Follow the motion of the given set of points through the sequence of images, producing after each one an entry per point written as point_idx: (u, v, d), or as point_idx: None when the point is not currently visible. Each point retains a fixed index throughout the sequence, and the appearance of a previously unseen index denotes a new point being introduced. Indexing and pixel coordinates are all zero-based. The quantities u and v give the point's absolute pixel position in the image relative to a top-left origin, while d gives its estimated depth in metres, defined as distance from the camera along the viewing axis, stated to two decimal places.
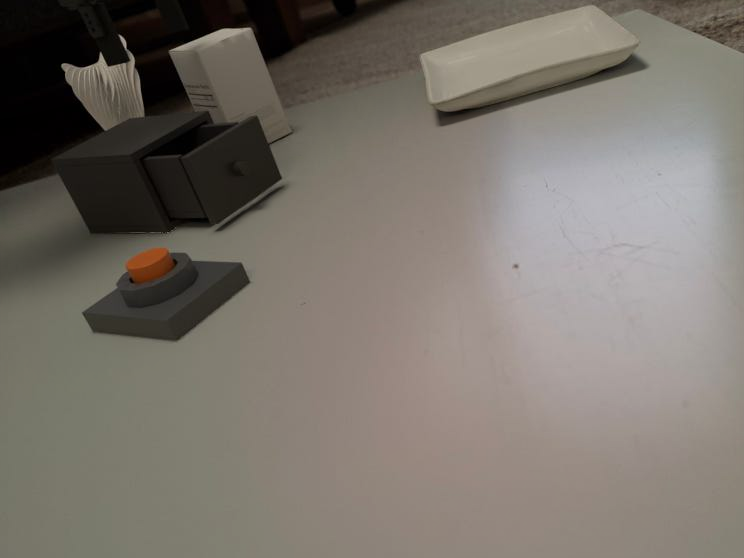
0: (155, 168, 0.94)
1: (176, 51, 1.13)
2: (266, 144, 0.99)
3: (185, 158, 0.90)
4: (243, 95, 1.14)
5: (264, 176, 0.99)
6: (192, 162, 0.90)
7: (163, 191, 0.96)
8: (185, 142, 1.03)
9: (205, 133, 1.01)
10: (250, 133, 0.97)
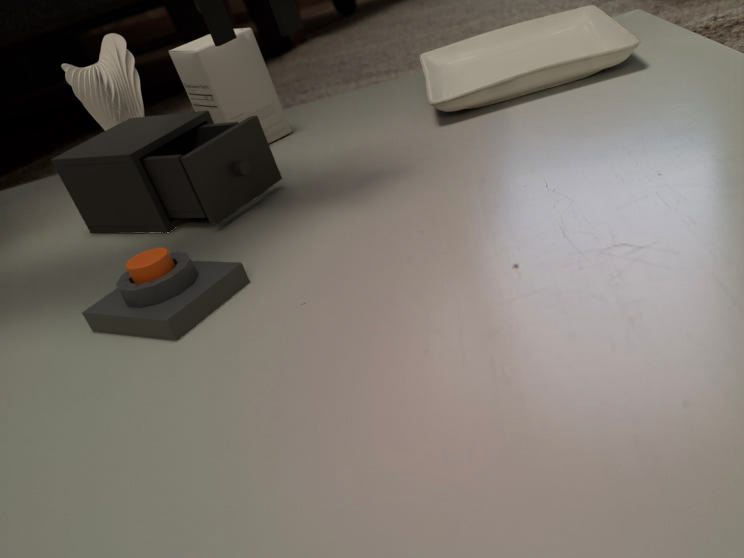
0: (155, 168, 0.94)
1: (176, 51, 1.13)
2: (266, 144, 0.99)
3: (185, 158, 0.90)
4: (243, 95, 1.14)
5: (264, 176, 0.99)
6: (192, 162, 0.90)
7: (163, 191, 0.96)
8: (185, 142, 1.03)
9: (205, 133, 1.01)
10: (250, 133, 0.97)
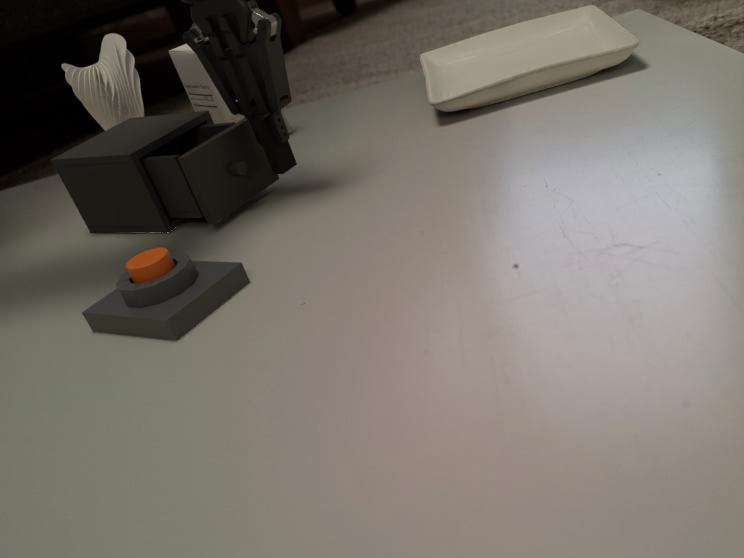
0: (152, 168, 0.94)
1: (176, 51, 1.13)
2: None
3: (182, 158, 0.90)
4: None
5: (261, 176, 0.99)
6: (189, 162, 0.90)
7: (160, 191, 0.96)
8: (182, 142, 1.04)
9: (202, 133, 1.01)
10: (247, 133, 0.97)
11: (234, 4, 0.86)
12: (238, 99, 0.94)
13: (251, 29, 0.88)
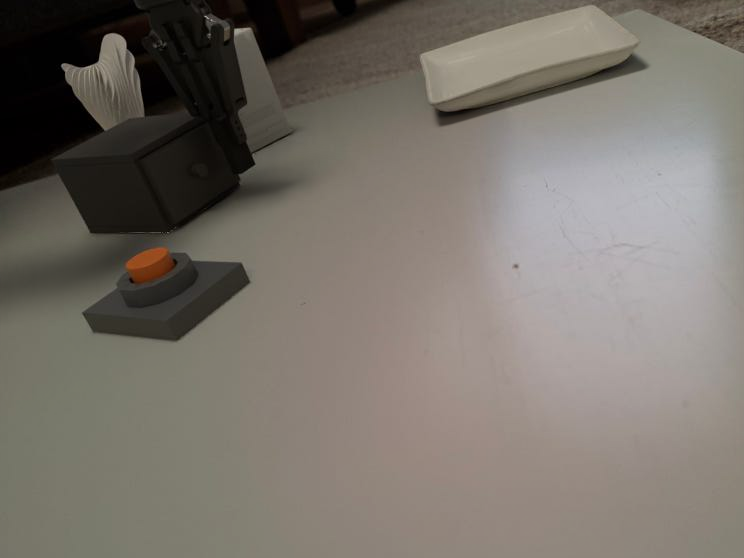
0: None
1: None
2: None
3: (142, 160, 0.93)
4: None
5: (222, 178, 1.02)
6: (149, 164, 0.94)
7: None
8: None
9: None
10: (208, 136, 1.00)
11: (188, 10, 0.89)
12: (196, 102, 0.97)
13: (206, 34, 0.92)
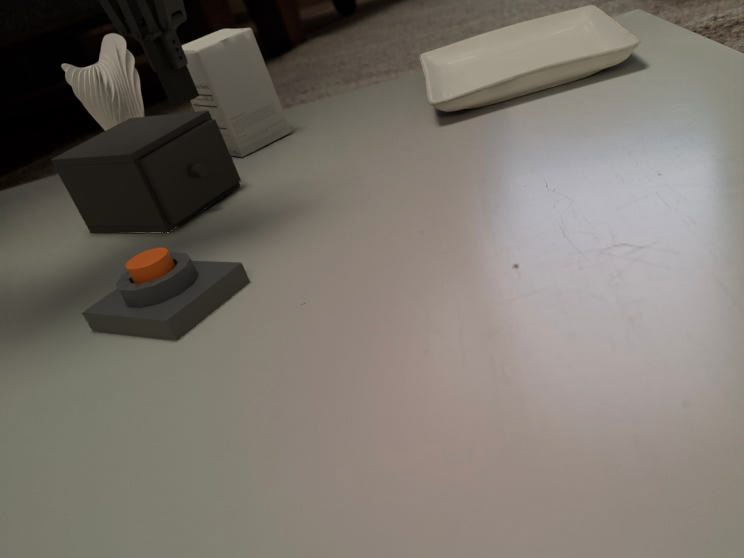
0: None
1: None
2: (225, 146, 1.02)
3: (142, 160, 0.93)
4: (242, 95, 1.14)
5: (222, 178, 1.02)
6: (149, 164, 0.94)
7: None
8: None
9: None
10: (208, 136, 1.00)
11: None
12: (126, 17, 0.82)
13: None
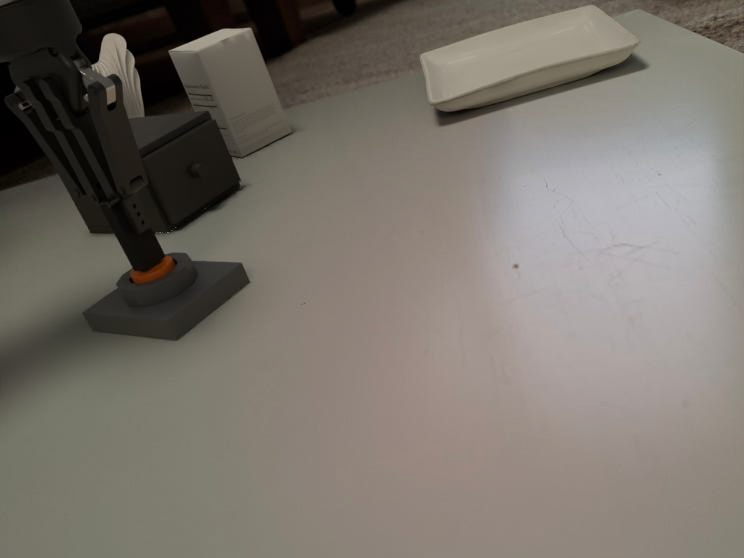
0: None
1: (176, 51, 1.13)
2: (225, 146, 1.02)
3: (142, 160, 0.93)
4: (242, 95, 1.14)
5: (222, 178, 1.02)
6: (149, 164, 0.94)
7: None
8: None
9: None
10: (208, 136, 1.00)
11: (57, 64, 0.66)
12: (80, 180, 0.73)
13: (85, 94, 0.68)
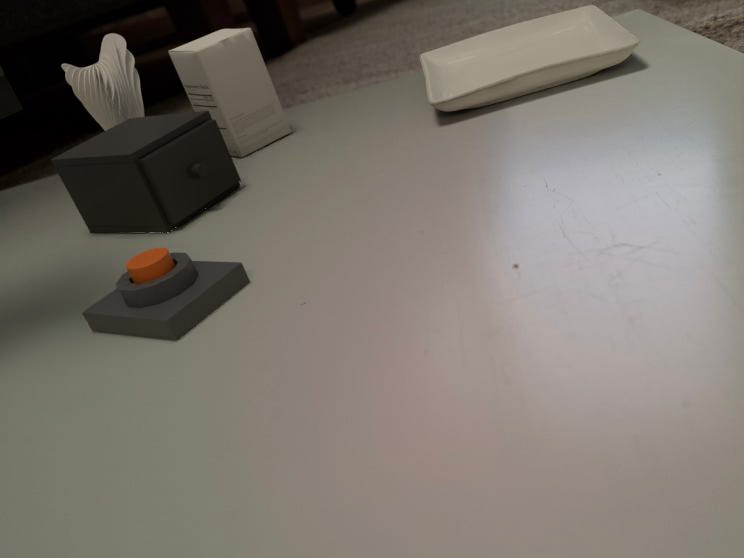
0: None
1: (176, 51, 1.13)
2: (225, 146, 1.02)
3: (142, 160, 0.93)
4: (242, 95, 1.14)
5: (222, 178, 1.02)
6: (149, 164, 0.94)
7: None
8: None
9: None
10: (208, 136, 1.00)
11: None
12: None
13: None
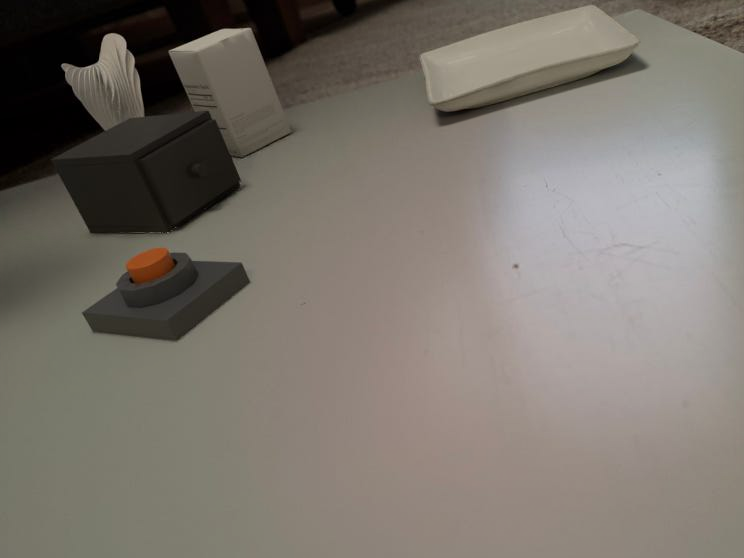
0: None
1: (176, 51, 1.13)
2: (225, 146, 1.02)
3: (142, 160, 0.93)
4: (242, 95, 1.14)
5: (222, 178, 1.02)
6: (149, 164, 0.94)
7: None
8: None
9: None
10: (208, 136, 1.00)
11: None
12: None
13: None
